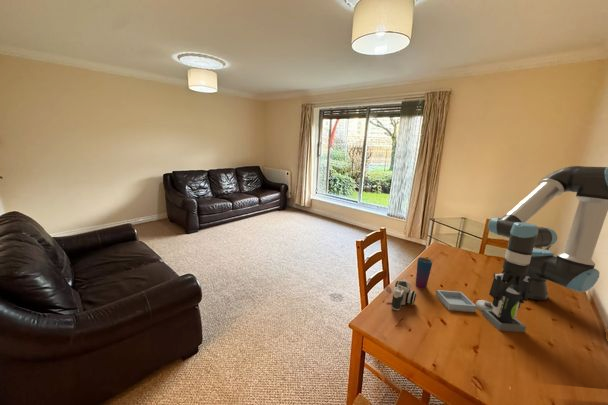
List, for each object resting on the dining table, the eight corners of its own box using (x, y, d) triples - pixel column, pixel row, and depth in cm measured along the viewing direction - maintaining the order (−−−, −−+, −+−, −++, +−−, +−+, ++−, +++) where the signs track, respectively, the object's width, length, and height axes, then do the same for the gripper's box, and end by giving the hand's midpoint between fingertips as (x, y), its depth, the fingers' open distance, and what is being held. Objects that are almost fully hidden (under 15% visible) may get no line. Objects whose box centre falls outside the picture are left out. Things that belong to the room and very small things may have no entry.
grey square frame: (491, 304, 115) (493, 298, 115) (524, 332, 97) (526, 325, 96) (469, 302, 116) (471, 296, 115) (498, 330, 97) (500, 323, 97)
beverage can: (488, 319, 103) (497, 286, 101) (497, 317, 106) (506, 285, 103) (505, 329, 98) (515, 295, 95) (514, 326, 100) (524, 293, 98)
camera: (409, 315, 103) (412, 294, 101) (388, 307, 108) (391, 286, 106) (416, 298, 116) (419, 279, 114) (397, 292, 121) (400, 273, 119)
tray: (459, 297, 120) (460, 291, 119) (475, 312, 108) (476, 306, 108) (435, 295, 120) (436, 289, 120) (448, 310, 109) (449, 303, 108)
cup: (429, 291, 123) (434, 263, 121) (415, 289, 125) (419, 261, 122) (425, 285, 130) (430, 258, 127) (412, 282, 131) (416, 256, 129)
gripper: (533, 259, 101) (520, 310, 105) (485, 255, 101) (474, 306, 105) (550, 267, 93) (535, 322, 97) (498, 263, 94) (486, 318, 98)
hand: (503, 314), depth 101 cm, fingers closed on beverage can, 6 cm apart
